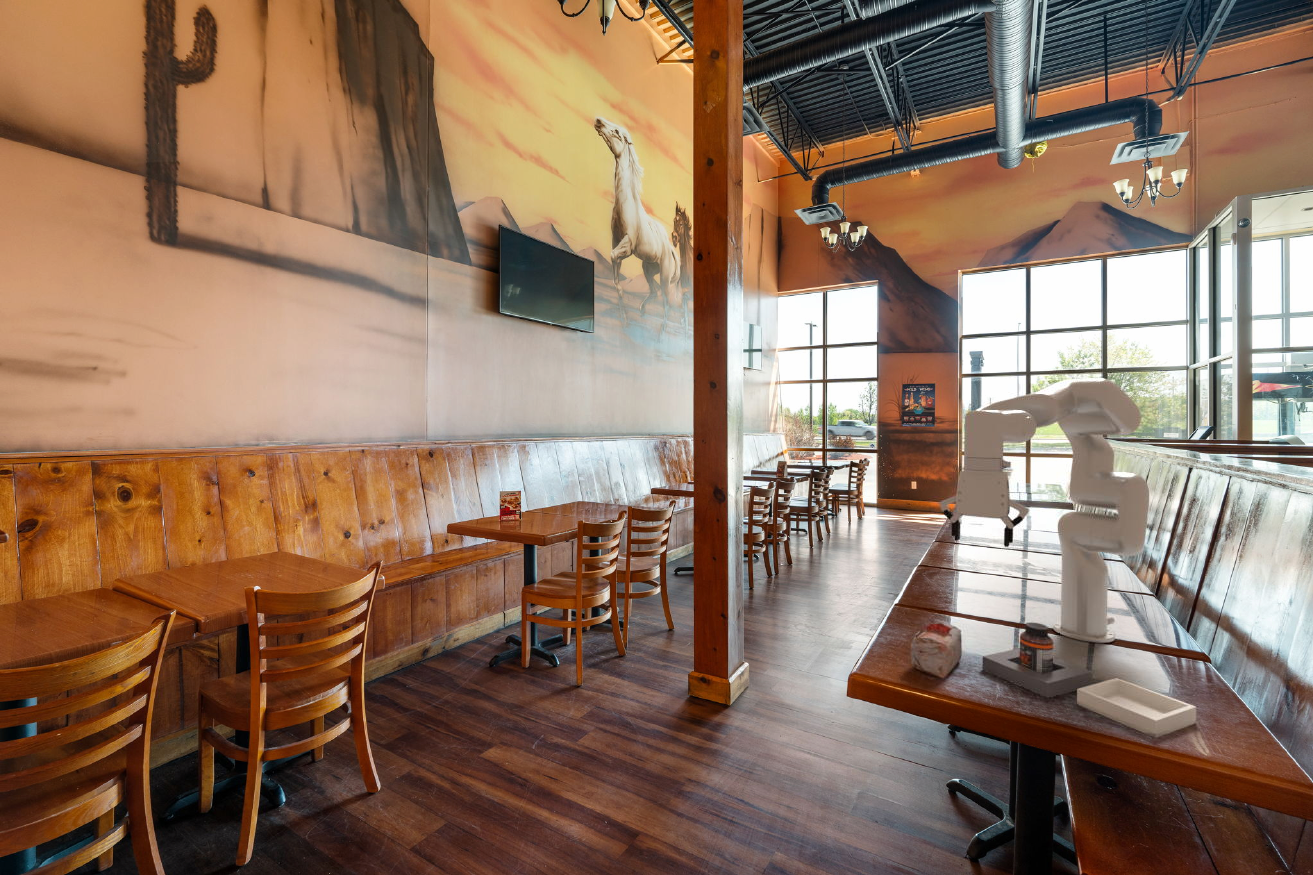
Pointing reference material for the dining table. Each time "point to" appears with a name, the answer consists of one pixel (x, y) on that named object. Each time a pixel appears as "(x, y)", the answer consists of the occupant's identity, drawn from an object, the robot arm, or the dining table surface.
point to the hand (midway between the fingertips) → (981, 542)
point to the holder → (1038, 674)
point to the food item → (937, 649)
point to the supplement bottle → (1036, 648)
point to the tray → (1137, 707)
